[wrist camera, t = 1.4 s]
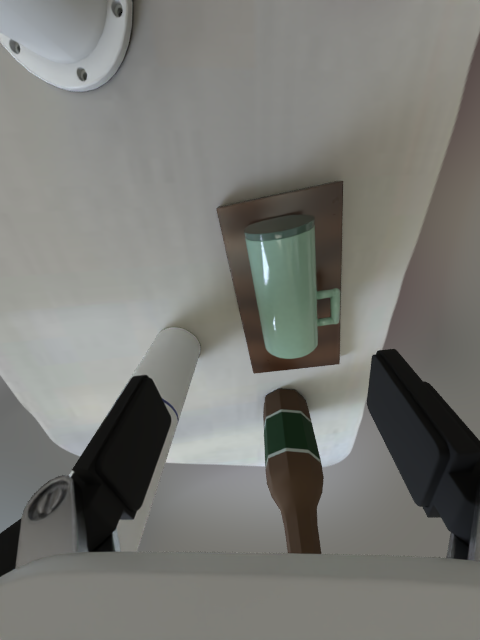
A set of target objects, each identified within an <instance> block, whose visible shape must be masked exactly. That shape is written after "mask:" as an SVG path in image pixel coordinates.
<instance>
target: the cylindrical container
mask: <svg viewBox="0 0 480 640" xmlns="http://www.w3.org/2000/svg"><path fill="white" fill-rule="evenodd" d="M200 350H201V347H200V343H199V341H198V339H197V338H196V337H195V336H194V335H193V334H192V333H191V332H189V331H187V330H185V329H182V328H178V327H171V328H166V329H164V330H162V331H161V332H160V333H159V334H158V335H157V337H156V338H155V340H154V341H153V343H152V344H151V346H150V348H149V349H148V351H147V352H146V354H145V356H144V357H143V359H142V360H141V362H140V364H139V365H138V367H137V368H136V370H135V371H134V373H133V375H132V376H131V378H132V377H133V376H139V375H147V376H148V377H149V378H152V380H153V381H154V383H155V385H156V387H157V389H158V391H159V393H160V395H161V397H162V399H163V401H164V404H165V406H166V408H167V410H168V412H169V414H170V416H171V426H170V428H169V431H168V434H167V437H166V440H165V443H164V445H163V448H162V451H161V454H160V457H159V459H158V462H157V465H156V468H155V471H154V473H153V476H152V479H151V482H150V485H149V487H148V490H147V493H146V496H145V499H144V502H143V504H142V506H141V508H140V509H139V510H137V512H136V515H135V518H134V520H119V522H118V525H117V527H116V528H117V533H118V538H119V543H120V548H121V552H137V550H138V547H139V544H140V541H141V538H142V535H143V532H144V528H145V525H146V522H147V519H148V516H149V513H150V509H151V506H152V503H153V500H154V497H155V493H156V490H157V487H158V484H159V481H160V478H161V474H162V472H163V468H164V465H165V462H166V459H167V456H168V453H169V449H170V446H171V443H172V440H173V437H174V434H175V430H176V427H177V424H178V421H179V418H180V414H181V411H182V408H183V405H184V402H185V399H186V395H187V392H188V389H189V386H190V383H191V380H192V377H193V373H194V370H195V367H196V364H197V361H198V358H199V355H200ZM131 378H130V379H131ZM130 379H129V381H130ZM129 381H128V382H129ZM127 384H128V383H127ZM127 384H126V385H127ZM125 387H126V386H125ZM125 387H124V388H125ZM123 390H124V389H123ZM123 390H122V392H123ZM122 392H121V393H122ZM120 395H121V394H120ZM120 395H119V396H120ZM118 398H119V397H118ZM118 398H117V399H118ZM116 401H117V400H116ZM114 404H115V403H114ZM113 406H114V405H113ZM113 406H112V407H113ZM111 409H112V408H111ZM109 412H110V411H109ZM107 415H108V414H107ZM105 418H106V417H105ZM102 423H103V422H102ZM100 426H101V425H100ZM73 473H74V471H73V470H72V471H71V473H70V475H69V476H70V477H71V476H72V474H73Z"/></svg>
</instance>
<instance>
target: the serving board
mask: <svg viewBox="0 0 480 640" xmlns="http://www.w3.org/2000/svg"><path fill="white" fill-rule="evenodd" d="M342 207H343V181H335V182H331V183H326V184H322V185H317V186H313V187H308V188H303V189H299V190H294V191H290V192H285V193H280V194H276V195H271V196H267V197H262V198H258V199H253V200H248V201H244V202H239V203H235V204H230V205H225V206H221V207H218V208H217V213H218V218H219V222H220V227H221V231H222V235H223V240H224V244H225V249H226V253H227V258H228V262H229V266H230V271H231V275H232V280H233V284H234V289H235V293H236V297H237V302H238V306H239V311H240V315H241V320H242V324H243V329H244V333H245V337H246V342H247V346H248V351H249V355H250V360H251V364H252V368H253V373H263V372H272V371H281V370H290V369H299V368H308V367H317V366H326V365H335V364H339V362H340V321H339V323H338V324H332V325H324V326H318V345H317V347H316V348H315V350H314V351H312V352H311V353H310V354H308V355H306V356H303V357H300V358H294V359H285V358H279V357H276V356H274V355H272V354H270V353H269V352H268V351H267V350H266V348H265V346H264V340H263V335H262V329H261V324H260V318H259V313H258V307H257V302H256V297H255V291H254V286H253V280H252V275H251V269H250V264H249V258H248V253H247V247H246V242H245V236H244V229H245V228H246V227H248V226H250V225H252V224H254V223H257V222H260V221H263V220H267V219H271V218H276V217H281V216H288V215H311V216H314V217H315V238H316V273H317V291H322V290H328V289H333V288H338V289H339V290H340V310H341V259H342ZM317 309H318V319H319V318H326V317H330V298H324V299H317Z"/></svg>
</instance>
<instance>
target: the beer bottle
mask: <svg viewBox="0 0 480 640" xmlns="http://www.w3.org/2000/svg"><path fill="white" fill-rule="evenodd" d="M263 417H264V443H265V468H266V478H267V485H268V488H269V490H270V493H271V496H272V498H273V499H274V501H275V503H276V504H277V506H278V507H279V509H280V510H281V514H282V518H283V523H284V527H285V534H286V542H287V549H288V553H294V554H321V549H320V541H319V534H318V526H317V505H318V502H319V500H320V497H321V494H322V487H323V472H322V465H321V460H320V456H319V452H318V448H317V443H316V439H315V435H314V431H313V427H312V422H311V418H310V414H309V410H308V406H307V403H306V400H305V399H304V398H303V397H302V396H301V395H300V394H299V393H298V392H297V391H296V390H290V389H277V390H276V391H274V392H272V393H270V394H268V395H266V397H265V403H264V415H263Z"/></svg>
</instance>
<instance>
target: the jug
mask: <svg viewBox="0 0 480 640" xmlns="http://www.w3.org/2000/svg"><path fill="white" fill-rule="evenodd" d="M244 236H245V242H246V247H247V253H248V258H249V264H250V269H251V275H252V280H253V286H254V291H255V297H256V302H257V307H258V313H259V318H260V324H261V329H262V335H263V340H264V346H265V348H266V350H267V351H268V352H269V353H270V354H272V355H274V356H276V357H279V358H285V359H294V358H300V357H303V356H306V355H308V354H310V353H311V352H312V351H314V350H315V348H316V347H317V345H318V326H324V325H332V324H338V323H339V321H340V290H339V289H338V288H333V289H328V290H322V291H317V273H316V238H315V217H314V216H311V215H288V216H281V217H276V218H271V219H267V220H263V221H260V222H257V223H254V224H252V225H250V226H248V227H246V228H245V229H244ZM324 298H330V317H326V318H319V319H318V309H317V299H324Z"/></svg>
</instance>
